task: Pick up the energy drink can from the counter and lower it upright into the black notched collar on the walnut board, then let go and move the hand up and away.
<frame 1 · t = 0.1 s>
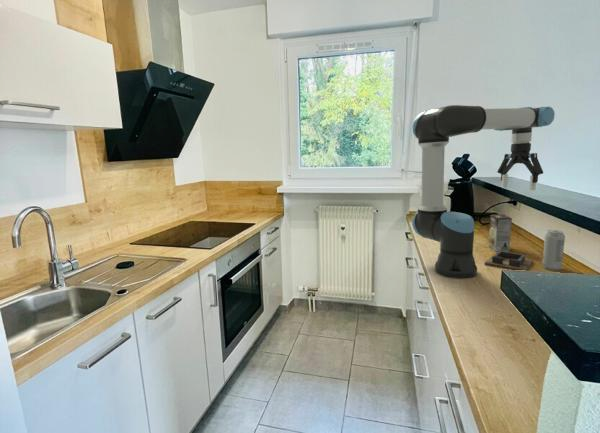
hand: (517, 188, 148), 28 cm above the counter, tool pointing down, fingers open, 13 cm apart
coffee box: (498, 249, 150), on the counter
energy drink can: (551, 268, 124), on the counter
socket board: (508, 263, 131), on the counter
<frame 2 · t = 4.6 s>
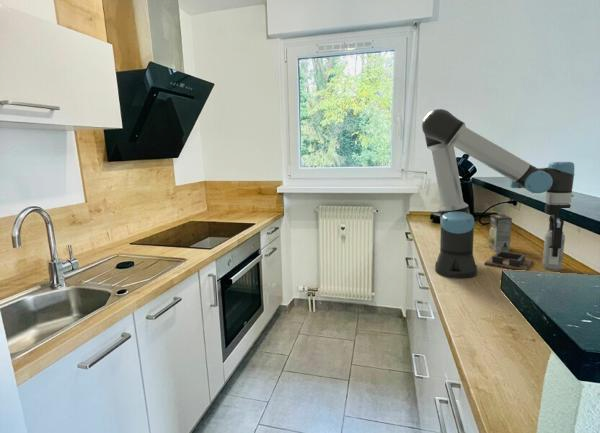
hand: (552, 261, 123), 3 cm above the counter, tool pointing down, fingers closed on energy drink can, 6 cm apart
energy drink can: (551, 268, 124), on the counter, touching gripper
everything else where it was.
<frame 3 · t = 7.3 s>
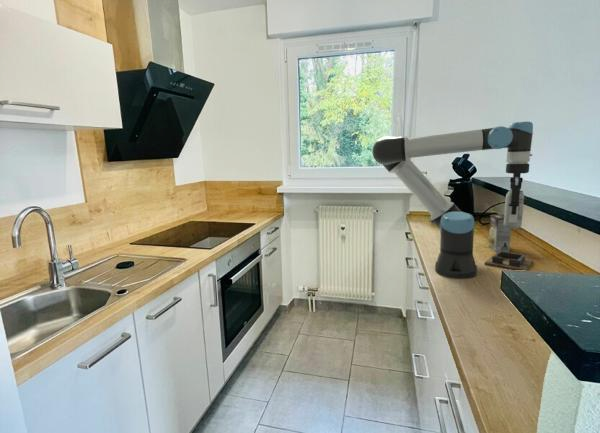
hand: (512, 220, 127), 19 cm above the counter, tool pointing down, fingers closed on energy drink can, 6 cm apart
energy drink can: (512, 227, 128), point 15 cm above the counter, touching gripper
everything else where it was.
when the fingers open (5 cm above the counter, at t = 10.4 s): energy drink can drops 1 cm, resting on socket board.
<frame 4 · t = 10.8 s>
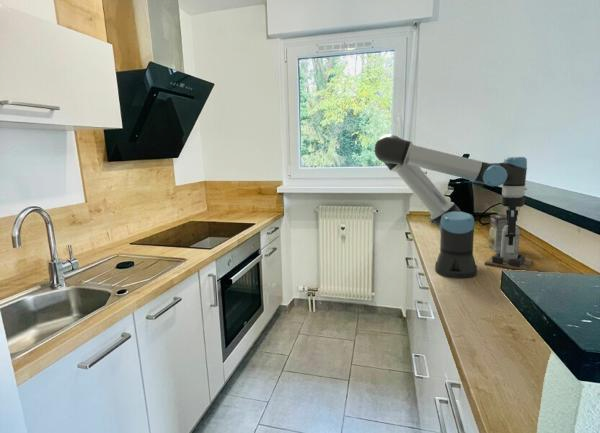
hand: (509, 248, 130), 7 cm above the counter, tool pointing down, fingers open, 11 cm apart
energy drink can: (508, 261, 131), point 1 cm above the counter, touching socket board
everything else where it was.
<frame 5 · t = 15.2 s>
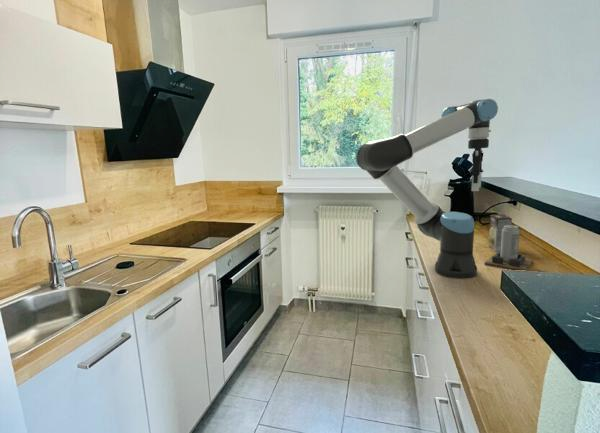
hand: (476, 189, 136), 31 cm above the counter, tool pointing down, fingers open, 13 cm apart
nothing on the counter moved.
at the end: energy drink can 0.1 cm off-centre on the socket board, point 0.8 cm above the socket board's base; energy drink can tilted 0°; the gripper is holding nothing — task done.
